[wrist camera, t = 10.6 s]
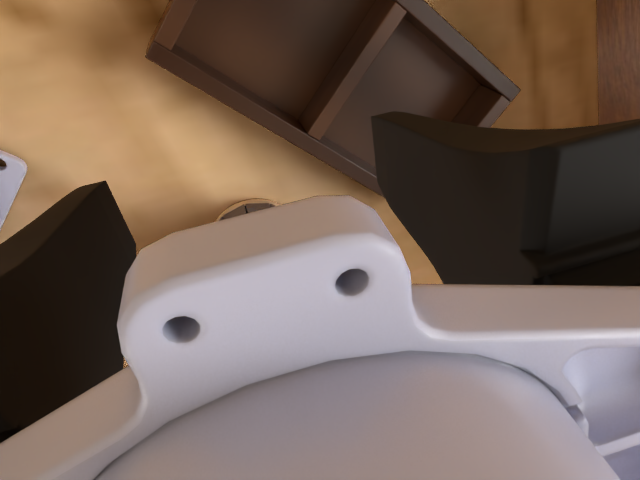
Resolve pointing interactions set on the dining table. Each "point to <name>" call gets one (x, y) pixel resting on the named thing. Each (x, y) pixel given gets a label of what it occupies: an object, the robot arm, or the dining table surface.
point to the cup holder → (330, 69)
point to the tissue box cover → (618, 60)
